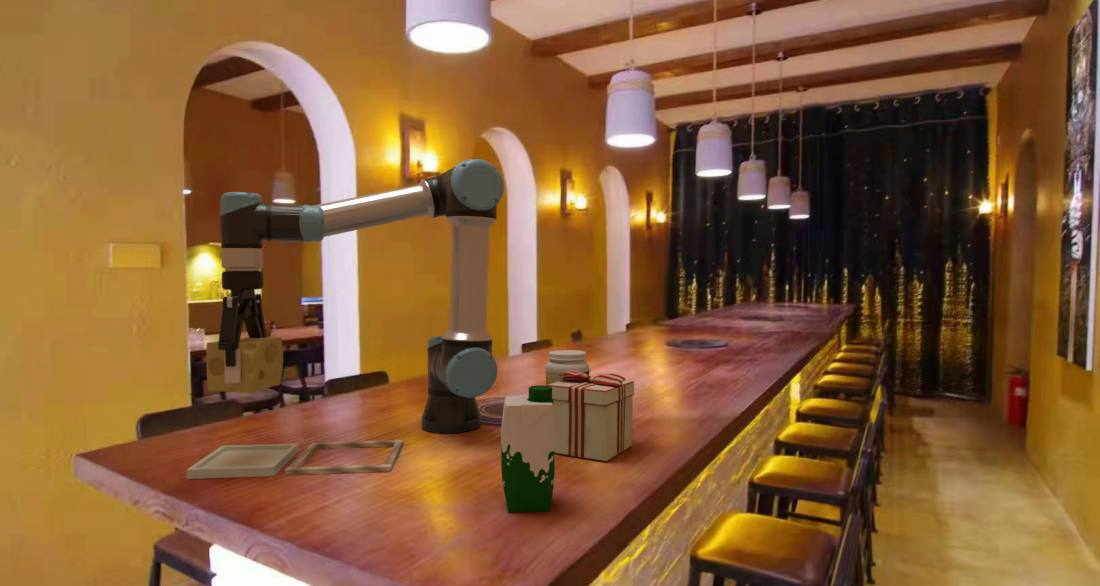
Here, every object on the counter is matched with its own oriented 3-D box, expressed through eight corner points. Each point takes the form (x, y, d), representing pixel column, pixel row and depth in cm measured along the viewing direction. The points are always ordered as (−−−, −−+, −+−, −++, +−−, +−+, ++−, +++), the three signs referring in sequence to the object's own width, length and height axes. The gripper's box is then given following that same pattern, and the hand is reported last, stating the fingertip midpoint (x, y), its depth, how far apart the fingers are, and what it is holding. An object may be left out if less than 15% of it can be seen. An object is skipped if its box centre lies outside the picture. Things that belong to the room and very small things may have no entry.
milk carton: (556, 513, 103) (556, 392, 102) (501, 515, 102) (501, 393, 101) (552, 494, 111) (552, 382, 110) (501, 495, 111) (500, 383, 110)
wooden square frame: (403, 444, 142) (403, 440, 142) (390, 471, 123) (390, 466, 123) (312, 446, 140) (312, 442, 140) (285, 475, 121) (285, 469, 121)
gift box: (639, 441, 145) (639, 367, 144) (612, 464, 128) (613, 381, 127) (571, 433, 152) (571, 362, 151) (538, 454, 135) (538, 375, 134)
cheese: (252, 393, 121) (251, 342, 121) (203, 392, 123) (202, 341, 123) (284, 384, 132) (283, 336, 131) (239, 382, 134) (237, 335, 133)
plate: (298, 451, 137) (298, 443, 137) (273, 476, 121) (273, 467, 121) (222, 454, 135) (222, 445, 135) (186, 479, 119) (186, 469, 119)
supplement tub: (590, 418, 166) (590, 355, 166) (544, 418, 167) (544, 355, 166) (588, 408, 179) (588, 349, 178) (545, 408, 179) (545, 349, 178)
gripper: (245, 269, 138) (247, 368, 139) (195, 270, 114) (198, 389, 115) (281, 269, 138) (282, 367, 139) (238, 270, 115) (241, 388, 116)
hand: (244, 377), depth 127 cm, fingers closed on cheese, 11 cm apart
